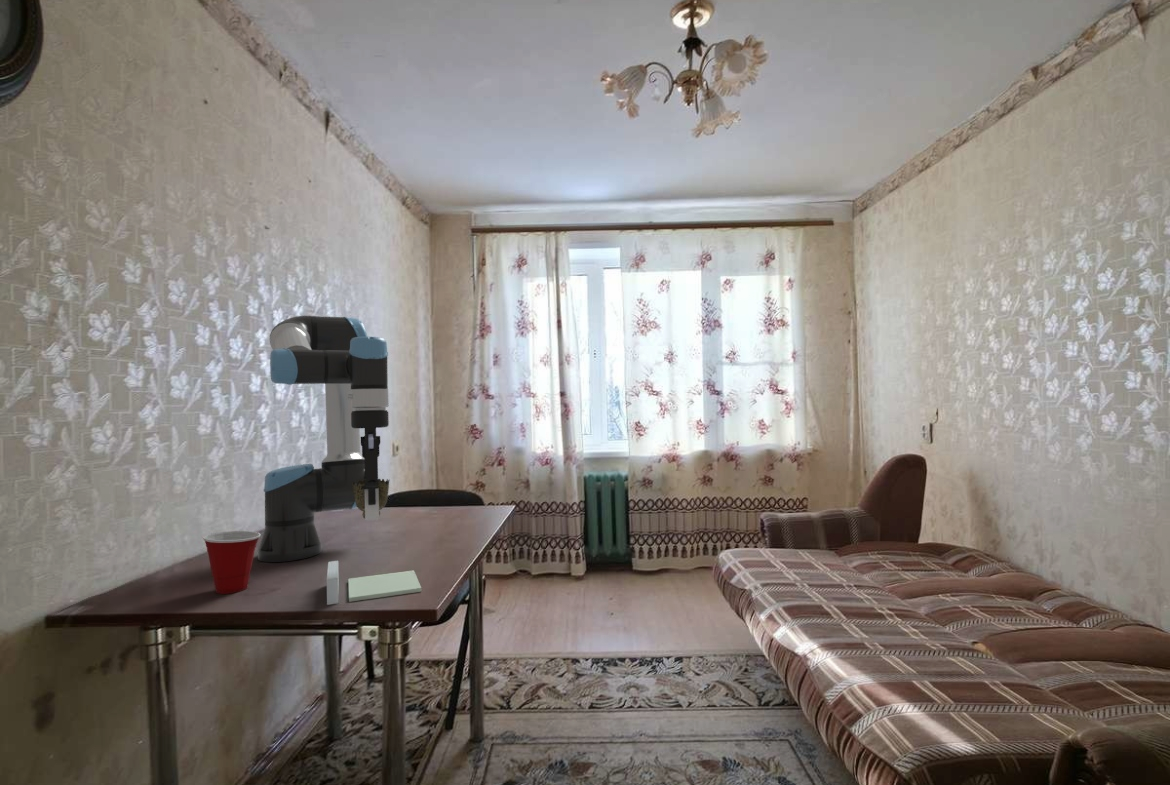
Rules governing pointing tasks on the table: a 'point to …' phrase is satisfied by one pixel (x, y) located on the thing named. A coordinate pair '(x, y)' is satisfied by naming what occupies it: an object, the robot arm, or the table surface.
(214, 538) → the plastic cup
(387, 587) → the green pad
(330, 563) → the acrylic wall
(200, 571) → the table surface
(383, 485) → the cup
